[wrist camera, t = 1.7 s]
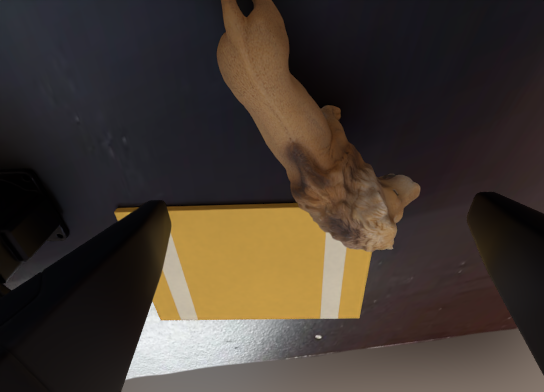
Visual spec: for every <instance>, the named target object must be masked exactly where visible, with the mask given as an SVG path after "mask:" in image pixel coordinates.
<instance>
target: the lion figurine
mask: <svg viewBox="0 0 544 392" xmlns="http://www.w3.org/2000/svg"><path fill="white" fill-rule="evenodd" d="M252 1H253V3H254V9H253V11H252V12H251V13H250V14H249V16H248V17H245V16H244V15H243V14H242V12H241V11H240V9H239V7H238V5H237V3H236V0H221V3H222V10H223V19H224V25H225V29H226V32H225V33H224V34H223V35H222V37H221V39H220V41H219V45H218V48H217V61H218V65H219V69H220V72H221V74H222V77H223V79H224V81H225V83H226V84H227V85H228V87H229V88H230V89H231V91H232V92H233V94H234V95H235V97H236V98H237V99H238V100H239V101H240V102H241V103H242V104H243V105H244V106H245V108H246V109H247V110H248V112H249V113H250V114H251V116H252V118H253V120H254V121H255V123H256V125H257V127H258V129H259V131H260V133H261V134H262V136H263V138H264V140H265V142H266V144H267V145H268V147H269V148H270V150H271V151H272V152H273V154H274V155H275V156H276V158H277V159H278V160H279V161H280V162H281V164H282V165H283V166H284V167H285V169H286V170H287V176H288V178H289V180H290V182H291V187H290V188H291V193H292V195H293V197H294V199H295V201H296V202H297V203H298V206H299V208H301V209H302V210H304V211H306V212H308V213H309V214H310V216H311V217H312V218H313V221H314V222H316V223H317V224H318V225H319V227H320V229H322V230H323V231H324V232H327V233H330V234H331V236H332V238H333V239H335V240H337V241H340V242H342V244H343V245H344V246H345V247H347V248H350V249H362V250H365V251H366V252H372V251H374V250H376V249H379V250H384V249H393V247H392V245H393V243H394V240H393V239H394V237H395V236H396V232H397V227H396V224H395V223H397V222H398V221H399V220H400V219H401V218H402V216H403V209H404V207H405V206H407V205H408V204H409V203H410V202H411V201H413V200H414V199H416V198H417V197H418V196H419V193H420V186H419V185H418V184H417V183H415V182H413V181H412V180H411V179H410V178H409V177H407V176H404V175H397V176H396V175H394V174H388V175H385V176H382V177H376V175H375V173H374V171H373V169H372V167H371V165H370V164H367V163H365V162H364V161H363V159H362V158H361V155H360V153H359V152H358V151H357V150H356V148H355V146H354V145H352V144H351V143H349V142H348V141H347V138H346V136H345V133H344V130H343V127H342V125H341V124H340V122H339V121H338V120H339V119H340V117H341V115H340V112H341V110H340V108H338V107H336V106H331V105H327V106H324V107H323V108H319V106H318V105H317V104H316V102H315V101H314V100H313V99H312V97H311V96H310V95H309V94H308V92H307V91H306V89H305V88H304V87H303V85H302V84H301V83H300V82H299V81H298V80H297V79H296V78H295V77H293V75H292V74H291V73H290V72H289V67H288V58H289V40H288V36H287V33H286V30H285V25H284V21H283V19H282V17H281V15H280V13H279V11H278V10H277V8H276V6H275V5H274V3H273V2H272V1H271V0H252Z"/></svg>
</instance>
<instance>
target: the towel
mask: <svg viewBox="0 0 544 392" xmlns="http://www.w3.org/2000/svg"><path fill="white" fill-rule="evenodd" d="M138 208H139V207H134V208H117V209H116V211H115V212H114V213H115V215H116V218H117V220H118V221H119V220H121V219H122V218H124V217H125V216H127V215H128V214H130V213H131V212H133V211H134V210H136V209H138ZM167 210H168V213H169V216H170V220H171V226H172V227H171V233H170V238H169V242H168V247H167V252H166V256H165V261H164V266H163V270H162V274H161V277H160V280H159V283H158V286H157V289H156V292H155V295H154V297H153V300H152V301H153V303H154V306H155V308H156V310H157V313H158V315H159V317H160V319H161V320H231V319H337V318H359V317H360V312H361V307H362V301H363V296H364V291H365V285H366V280H367V275H368V269H369V264H370V259H371V254H372V252H366V251H365V250H362V249H350V248H347V247H345V246H344V245H343V244H342V242H340V241H337V240H335V239H333V238H332V236H331V234H330V233H327V232H324V231H323V230H322V229H320V227H319V225H318V224H317V223H316V222H314V221H313V218H312V217H311V216H310V214H309V213H308V212H306V211H304V210H302V209H301V208H299V206H298V203H280V204H243V205H207V206H170V207H167Z"/></svg>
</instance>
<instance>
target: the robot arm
mask: <svg viewBox="0 0 544 392" xmlns="http://www.w3.org/2000/svg"><path fill="white" fill-rule="evenodd" d="M27 176H28V177H29V178H28V177H27ZM467 223H468V226H469V228H470V231H471V233H472V236H473V238H474V241H475V243H476V246H477V248H478V251H479V253H480V255H481V258H482V260H483V263H484V265H485V267H486V269H487V271H488V273H489V275H490V277H491V279H492V281H493V283H494V285H495V286H496V288H497V290H498V292H499V294H500V296H501V297H502V299H503V301H504V303H505V305H506V307H507V309H508V310H509V312H510V314H511V316H512V318H513V320H514V321H515V323H516V325H517V327H518V329H519V331H520V332H521V334H522V336H523V338H524V340H525V342H526V344H527V345H528V347H529V349H530V351H531V353H532V355H533V356H534V358H535V360H536V362H537V364H538V366H539V368H540V369H541V371H542V373H543V375H544V214H543V213H541V212H539V211H536V210H534V209H532V208H530V207H527V206H525V205H523V204H520V203H518V202H516V201H514V200H511V199H509V198H507V197H505V196H502V195H500V194H498V193H495V192H479V193H477V194H476V195H475V197H474V200H473V202H472V205H471V207H470V210H469V212H468V215H467ZM171 227H172V226H171V220H170V216H169V213H168V210H167V206H166V204H165V202H164V201H162V200H151V201H148V202H147V203H145V204H144V205H142V206H141V207H139V208H138V209H136V210H134V211H133V212H131V213H130V214H128V215H127V216H125V217H124V218H122V219H121V220H119V221H118V222H116V223H115V224H113V225H112V226H110V227H109V228H107V229H105V230H104V231H102V232H101V233H99V234H98V235H96V236H95V237H93V238H92V239H90V240H89V241H87V242H86V243H84V244H83V245H81V246H79V247H78V248H76V249H75V250H73V251H72V252H70V253H69V254H67V255H66V256H64V257H63V258H61V259H60V260H58V261H57V262H55V263H54V264H52V265H50V266H49V267H47V268H46V269H44V270H43V272H42V273H41V272H40V273H38V274H37V275H35V276H34V277H32V278H31V279H29V280H28V281H26V282H24V283H23V284H21V285H20V286H18V287H17V288H15V289H13V290H12V291H11V290H10V289H9V288H7V287H6V286H5V285H3V284H4V283H6V282H7V281H8V280H9V278H10V277H11V276H12V275H13V274H14V273H15V272H16V271H17V269H18V268H19V267H20V266H21V265H22V264H23V263H24V262H26V261H29V260H30V259H31V257H32V256H33V255H34V254H35V253H36V252H37V251H38V249H39V248H40V247H41V246H42V245H43V244H44V243H45V241H62V240H65V239H66V238H67V237H68V236H69V232H68V231H67V229H66V227H65V225H64V224H63V222H62V220H61V218H60V217H59V215H58V213H57V211H56V209H55V208H54V206H53V204H52V202H51V201H50V199H49V197H48V195H47V194H46V192H45V190H44V188H43V186H42V185H41V183H40V181H39V179H38V178H37V176H36V174H35V173H34V172H33V171H31V170H28V169H17V170H0V392H121V390H122V387H123V384H124V382H125V379H126V376H127V373H128V370H129V367H130V364H131V361H132V358H133V355H134V353H135V350H136V347H137V344H138V341H139V338H140V335H141V332H142V329H143V326H144V324H145V321H146V318H147V315H148V312H149V309H150V306H151V303H152V300H153V297H154V295H155V292H156V289H157V286H158V283H159V280H160V277H161V274H162V270H163V266H164V261H165V256H166V252H167V247H168V242H169V238H170V233H171Z"/></svg>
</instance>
